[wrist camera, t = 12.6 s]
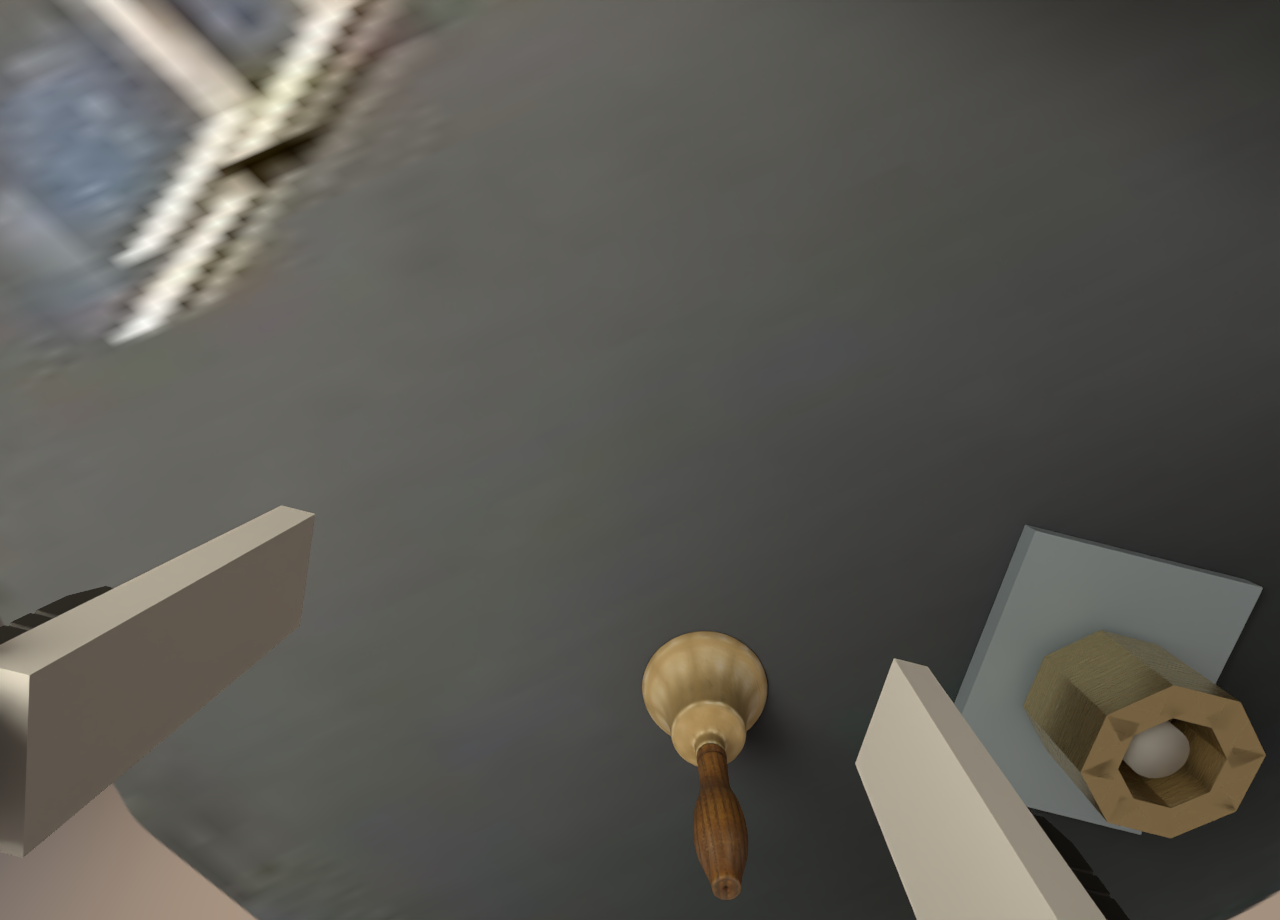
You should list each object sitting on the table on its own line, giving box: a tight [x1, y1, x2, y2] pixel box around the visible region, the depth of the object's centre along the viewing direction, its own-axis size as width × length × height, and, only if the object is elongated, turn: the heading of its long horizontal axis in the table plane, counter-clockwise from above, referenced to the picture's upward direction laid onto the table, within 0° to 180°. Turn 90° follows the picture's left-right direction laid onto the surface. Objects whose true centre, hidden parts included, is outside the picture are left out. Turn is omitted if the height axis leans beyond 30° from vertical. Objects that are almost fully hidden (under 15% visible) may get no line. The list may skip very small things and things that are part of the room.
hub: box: [1023, 630, 1266, 838], centre depth 38 cm, size 8×8×6 cm
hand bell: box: [642, 631, 768, 900], centre depth 37 cm, size 8×8×16 cm
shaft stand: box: [954, 525, 1263, 835], centre depth 39 cm, size 18×14×7 cm
